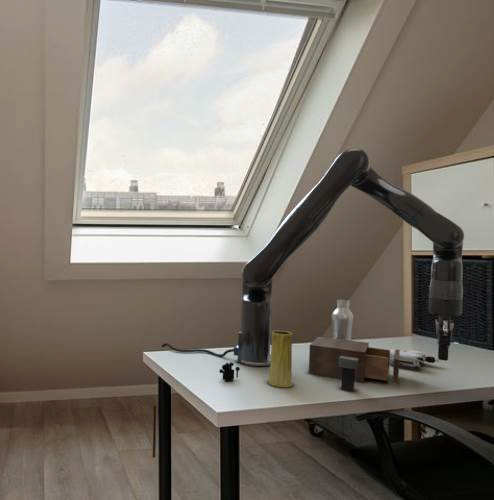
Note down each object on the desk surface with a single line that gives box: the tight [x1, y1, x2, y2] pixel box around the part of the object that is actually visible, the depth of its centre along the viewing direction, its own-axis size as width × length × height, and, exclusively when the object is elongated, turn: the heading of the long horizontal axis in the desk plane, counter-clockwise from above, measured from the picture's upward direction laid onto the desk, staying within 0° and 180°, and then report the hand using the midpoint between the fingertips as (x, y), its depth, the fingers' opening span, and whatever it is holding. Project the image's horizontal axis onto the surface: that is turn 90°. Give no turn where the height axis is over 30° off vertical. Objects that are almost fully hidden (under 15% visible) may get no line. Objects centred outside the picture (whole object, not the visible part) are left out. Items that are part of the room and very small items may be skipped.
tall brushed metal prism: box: [339, 356, 359, 393], centre depth 127 cm, size 4×2×8 cm, turn 59°
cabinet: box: [308, 336, 370, 383], centre depth 143 cm, size 15×15×9 cm
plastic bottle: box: [331, 299, 355, 341], centre depth 157 cm, size 6×7×20 cm
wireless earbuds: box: [219, 361, 241, 382], centre depth 133 cm, size 7×2×5 cm, turn 117°
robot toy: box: [389, 349, 440, 366], centre depth 154 cm, size 12×4×15 cm
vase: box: [268, 330, 293, 388], centre depth 130 cm, size 6×6×14 cm
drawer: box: [364, 346, 421, 385], centre depth 138 cm, size 18×13×7 cm
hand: (442, 359), depth 130 cm, fingers closed
